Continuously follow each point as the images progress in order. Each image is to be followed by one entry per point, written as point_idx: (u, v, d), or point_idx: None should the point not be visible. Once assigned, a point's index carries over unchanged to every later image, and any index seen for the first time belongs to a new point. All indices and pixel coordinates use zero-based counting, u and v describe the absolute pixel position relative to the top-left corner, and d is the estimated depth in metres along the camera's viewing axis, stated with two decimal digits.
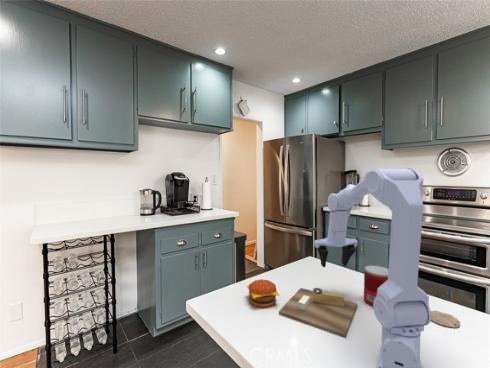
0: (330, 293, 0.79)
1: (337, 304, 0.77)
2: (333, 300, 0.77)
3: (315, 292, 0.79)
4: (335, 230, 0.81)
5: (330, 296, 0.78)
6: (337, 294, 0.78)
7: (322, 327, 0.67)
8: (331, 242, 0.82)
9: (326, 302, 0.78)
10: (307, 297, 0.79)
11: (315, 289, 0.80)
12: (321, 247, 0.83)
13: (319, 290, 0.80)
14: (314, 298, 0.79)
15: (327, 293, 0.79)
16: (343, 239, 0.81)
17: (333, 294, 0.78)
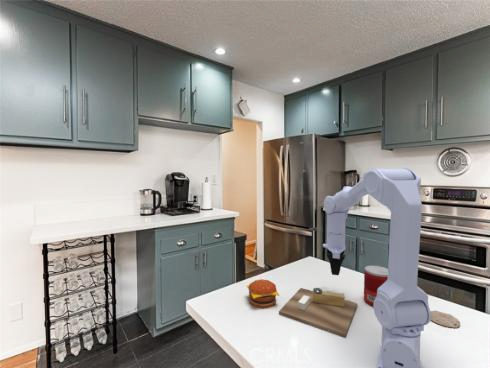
0: (330, 293, 0.79)
1: (337, 304, 0.77)
2: (333, 300, 0.77)
3: (315, 292, 0.79)
4: (334, 233, 0.79)
5: (330, 296, 0.78)
6: (337, 294, 0.78)
7: (322, 327, 0.67)
8: (341, 247, 0.79)
9: (326, 302, 0.78)
10: (307, 297, 0.79)
11: (315, 289, 0.80)
12: None
13: (319, 290, 0.80)
14: (314, 298, 0.79)
15: (327, 293, 0.79)
16: None
17: (333, 294, 0.78)
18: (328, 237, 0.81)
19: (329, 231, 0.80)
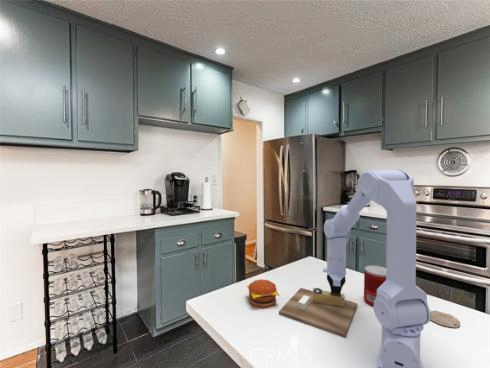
0: (330, 293, 0.79)
1: (337, 304, 0.77)
2: (333, 300, 0.77)
3: (315, 292, 0.79)
4: (335, 258, 0.77)
5: (330, 296, 0.78)
6: (337, 294, 0.78)
7: (322, 327, 0.67)
8: (341, 273, 0.77)
9: (326, 302, 0.78)
10: (307, 297, 0.79)
11: (315, 289, 0.80)
12: None
13: (319, 290, 0.80)
14: (314, 298, 0.79)
15: (327, 293, 0.79)
16: None
17: (333, 294, 0.78)
18: (328, 262, 0.79)
19: (330, 256, 0.78)
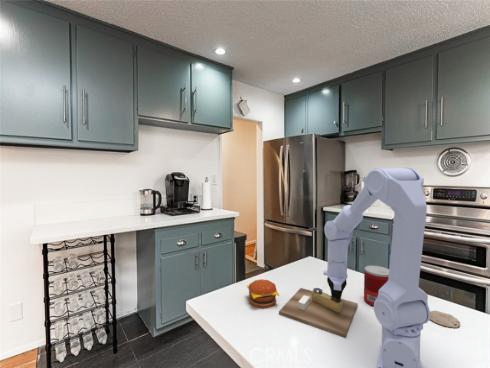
0: (328, 296, 0.77)
1: (331, 308, 0.75)
2: (328, 303, 0.76)
3: (313, 291, 0.80)
4: (336, 261, 0.74)
5: (326, 298, 0.76)
6: (334, 299, 0.75)
7: (322, 327, 0.67)
8: (342, 276, 0.74)
9: (322, 303, 0.77)
10: (307, 297, 0.79)
11: (316, 289, 0.81)
12: None
13: (318, 290, 0.79)
14: (313, 297, 0.80)
15: (325, 295, 0.77)
16: None
17: (330, 298, 0.76)
18: (329, 265, 0.76)
19: (331, 259, 0.75)
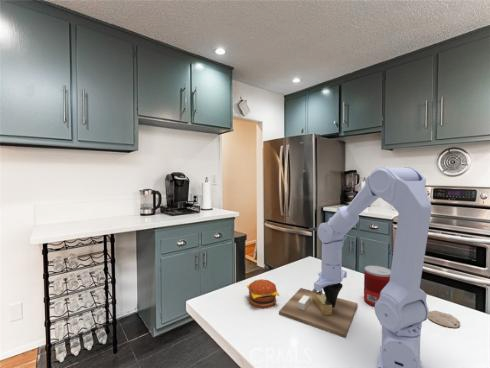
0: (322, 297, 0.76)
1: (321, 309, 0.74)
2: (319, 304, 0.75)
3: (313, 290, 0.81)
4: (332, 264, 0.72)
5: (318, 299, 0.76)
6: (325, 301, 0.74)
7: (322, 327, 0.67)
8: (331, 280, 0.72)
9: (317, 303, 0.77)
10: (307, 297, 0.79)
11: None
12: (331, 284, 0.73)
13: (317, 290, 0.79)
14: (313, 295, 0.81)
15: (320, 296, 0.77)
16: (341, 273, 0.73)
17: (322, 299, 0.75)
18: (321, 266, 0.75)
19: (326, 262, 0.72)
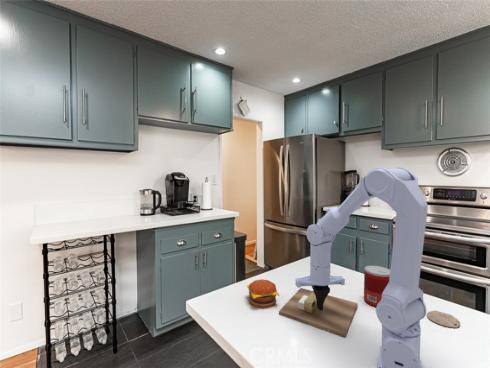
0: (313, 296, 0.77)
1: None
2: None
3: None
4: (322, 266, 0.71)
5: None
6: (311, 299, 0.75)
7: (322, 327, 0.67)
8: (314, 280, 0.72)
9: None
10: (307, 297, 0.79)
11: None
12: (316, 286, 0.73)
13: None
14: None
15: (313, 295, 0.78)
16: (327, 276, 0.71)
17: (311, 297, 0.76)
18: None
19: (316, 264, 0.71)
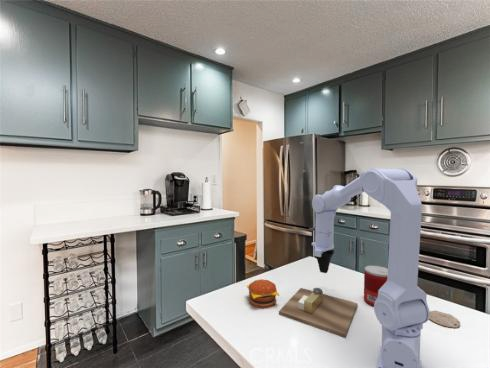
0: (313, 296, 0.77)
1: None
2: None
3: None
4: (323, 232, 0.78)
5: None
6: (311, 299, 0.75)
7: (322, 327, 0.67)
8: (327, 246, 0.78)
9: None
10: (307, 297, 0.79)
11: (318, 289, 0.80)
12: (325, 252, 0.79)
13: (316, 290, 0.80)
14: None
15: (313, 295, 0.78)
16: None
17: (311, 297, 0.76)
18: (315, 235, 0.81)
19: (318, 230, 0.79)
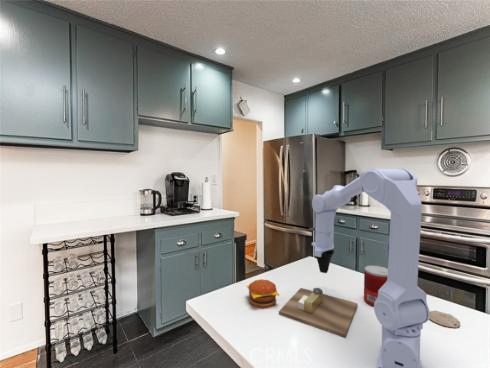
0: (313, 296, 0.77)
1: None
2: None
3: None
4: (323, 232, 0.78)
5: None
6: (311, 299, 0.75)
7: (322, 327, 0.67)
8: (327, 246, 0.78)
9: None
10: (307, 297, 0.79)
11: (318, 289, 0.80)
12: (325, 252, 0.79)
13: (316, 290, 0.80)
14: None
15: (313, 295, 0.78)
16: None
17: (311, 297, 0.76)
18: (315, 235, 0.81)
19: (318, 230, 0.79)
